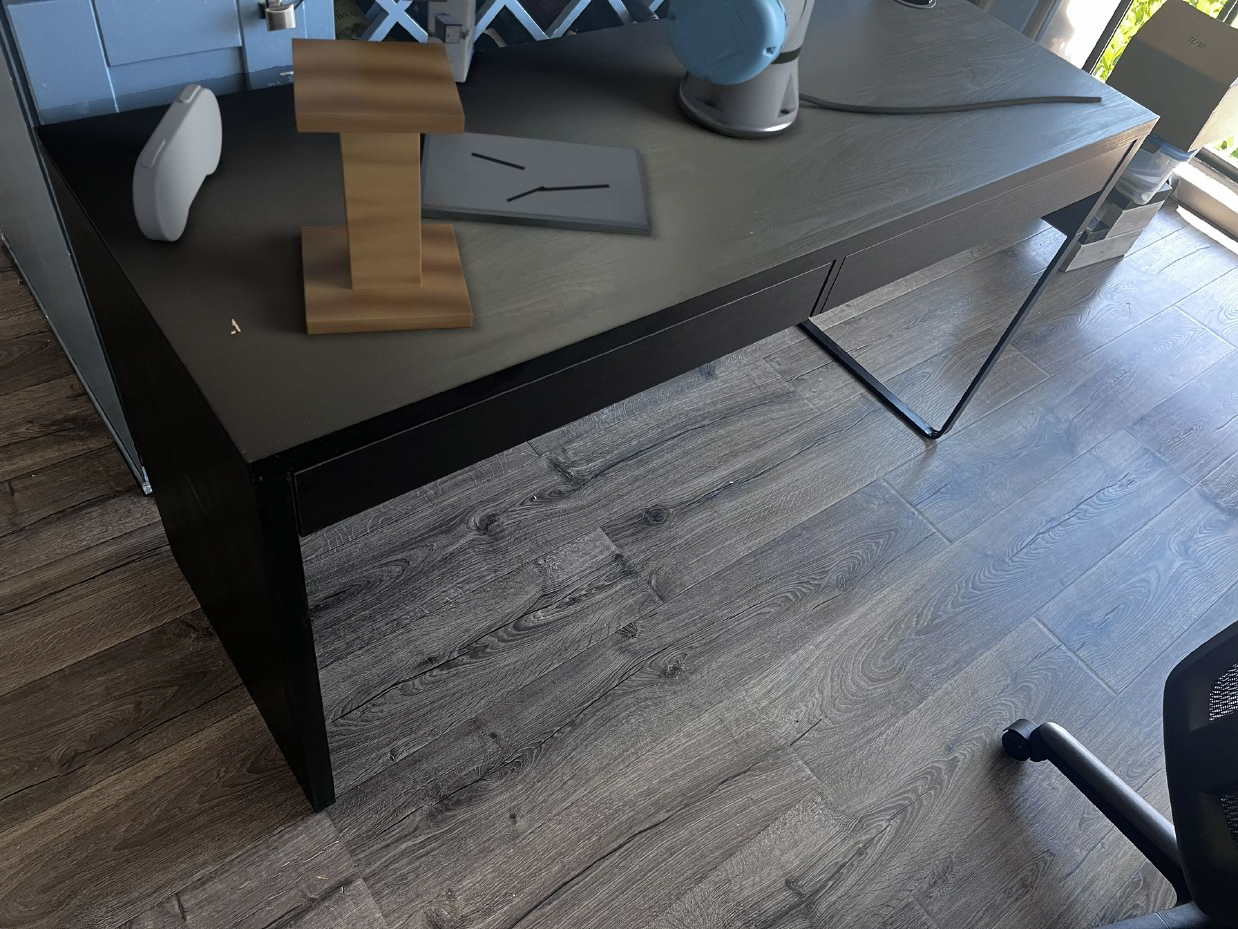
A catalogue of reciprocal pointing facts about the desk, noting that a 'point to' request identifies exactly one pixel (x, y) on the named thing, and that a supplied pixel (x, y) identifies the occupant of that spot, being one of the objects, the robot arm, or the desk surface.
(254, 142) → the desk surface
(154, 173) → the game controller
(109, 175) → the desk surface
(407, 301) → the shelf stand
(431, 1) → the eraser
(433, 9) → the ink box
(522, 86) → the desk surface
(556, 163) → the whiteboard
